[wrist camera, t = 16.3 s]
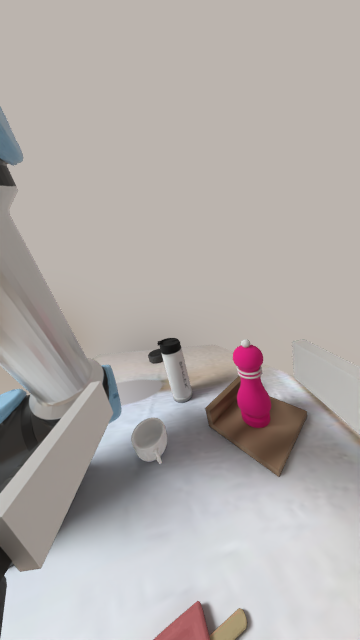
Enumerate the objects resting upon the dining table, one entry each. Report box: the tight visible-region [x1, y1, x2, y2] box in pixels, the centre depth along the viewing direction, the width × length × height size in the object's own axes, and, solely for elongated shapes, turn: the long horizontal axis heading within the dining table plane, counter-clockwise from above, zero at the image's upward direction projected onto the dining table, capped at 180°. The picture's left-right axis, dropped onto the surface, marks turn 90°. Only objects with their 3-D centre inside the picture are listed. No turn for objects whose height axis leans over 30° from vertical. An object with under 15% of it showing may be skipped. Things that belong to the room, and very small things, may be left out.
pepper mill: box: [233, 339, 271, 428], centre depth 37 cm, size 7×7×20 cm
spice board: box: [205, 376, 307, 477], centre depth 39 cm, size 16×16×6 cm
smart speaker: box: [148, 349, 163, 363], centre depth 83 cm, size 9×9×4 cm
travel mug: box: [158, 338, 192, 402], centre depth 52 cm, size 6×7×20 cm
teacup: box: [132, 418, 167, 464], centre depth 37 cm, size 10×8×5 cm
